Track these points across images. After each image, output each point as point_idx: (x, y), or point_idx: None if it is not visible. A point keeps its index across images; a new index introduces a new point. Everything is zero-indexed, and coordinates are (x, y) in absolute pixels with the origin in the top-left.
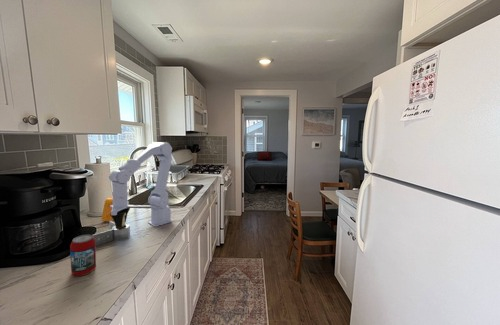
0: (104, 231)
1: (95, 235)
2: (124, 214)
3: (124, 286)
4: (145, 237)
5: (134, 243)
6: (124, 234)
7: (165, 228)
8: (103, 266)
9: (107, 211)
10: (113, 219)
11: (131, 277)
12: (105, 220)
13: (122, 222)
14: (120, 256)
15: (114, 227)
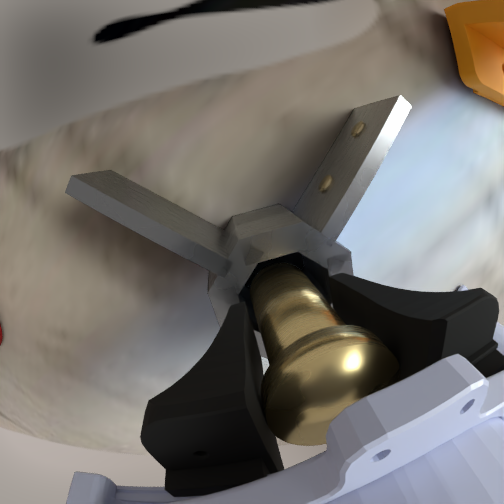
0: (155, 223)
1: (80, 199)
2: (316, 436)
3: (20, 431)
4: None
5: None
6: None
7: None
8: (21, 357)
9: (501, 25)
10: (199, 361)
11: (43, 437)
12: (452, 27)
13: (262, 375)
14: (85, 380)
15: (264, 251)
